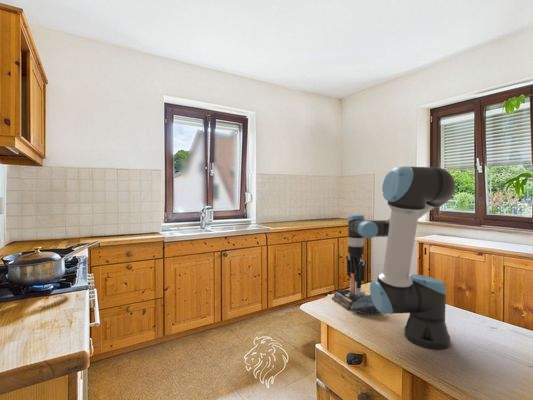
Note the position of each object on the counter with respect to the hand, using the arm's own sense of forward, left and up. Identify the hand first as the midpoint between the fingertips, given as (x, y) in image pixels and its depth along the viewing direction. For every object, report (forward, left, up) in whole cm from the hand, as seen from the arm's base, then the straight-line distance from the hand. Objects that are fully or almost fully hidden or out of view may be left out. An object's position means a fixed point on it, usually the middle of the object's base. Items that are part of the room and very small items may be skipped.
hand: (355, 292), depth 140 cm
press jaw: (0, 0, -4) cm, 4 cm away
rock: (-11, 0, -6) cm, 13 cm away
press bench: (+1, 0, -6) cm, 6 cm away
